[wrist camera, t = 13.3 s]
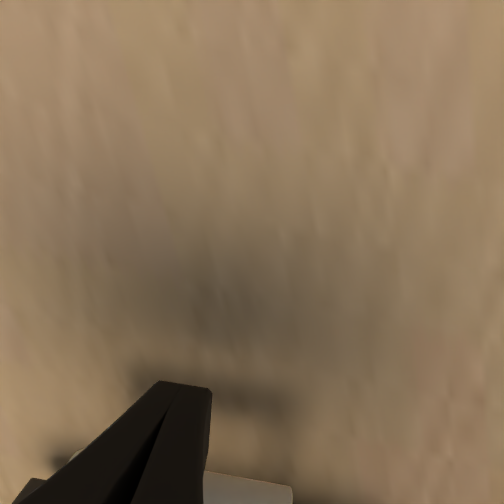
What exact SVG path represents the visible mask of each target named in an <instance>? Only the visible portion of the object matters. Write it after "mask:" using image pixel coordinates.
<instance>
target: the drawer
mask: <svg viewBox="0 0 504 504" xmlns="http://www.w3.org/2000/svg"><path fill="white" fill-rule="evenodd" d="M83 450H84V449H80V450H78V451H77V452H75V453H74V455H73V456H72V457H71V458H70V460H69V461H71V460H72V459H73V458H74V457H75V456H77V455H78V454H79V453H80V452H81V451H83ZM69 461H68V462H69ZM45 481H46V480H42V479H37V478H31V479H30V480H29V482H28V483H27V484H26V486H25V487H24V488H23V490H22V491H21V492H20V493H19V495H18V496H17V497H16V499H15V500H14V501H13V503H12V504H17V503H18V502H19V501H21V500H22V499H23V498H25V497H26V496H27V495H28V494H30V493H31V492H32V491H34V490H35V489H36V488H38V487H39V486H40V485H41V484H43V483H44V482H45ZM203 502H204V504H293V494H292V489H291V487H290V486H286V485H281V484H276V483H270V482H265V481H259V480H254V479H248V478H243V477H237V476H232V475H226V474H221V473H215V472H210V471H204V475H203Z"/></svg>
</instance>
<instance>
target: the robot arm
mask: <svg viewBox="0 0 504 504" xmlns="http://www.w3.org/2000/svg"><path fill="white" fill-rule="evenodd" d="M211 406H212V392H211V391H210V390H209V389H208V388H203V387H197V386H190V385H184V384H178V383H172V382H166V381H160V380H159V381H158V382H156V383H155V384H154V385H153V386H152V387H151V388H150V389H149V390H148V391H147V392H146V393H145V394H143V395H142V396H141V397H140V398H139V399H138V400H137V401H136V402H135V403H134V404H133V405H132V406H131V407H130V408H129V409H128V410H127V411H126V412H125V413H124V414H123V415H122V416H120V417H119V418H118V419H117V420H116V421H115V422H114V423H113V424H112V425H111V426H110V427H108V428H107V429H106V430H105V431H104V432H103V433H102V434H101V435H99V436H98V437H97V438H96V439H95V440H94V441H93V442H92V443H91V444H89V445H88V446H87V447H86V448H85V449H84V450H83V451H81V452H80V453H79V454H78V455H77V456H75V457H74V458H73V459H72V460H71V461H69V462H68V463H67V464H66V465H64V466H63V467H62V468H61V469H60V470H58V471H57V472H56V473H55V474H54V475H52V476H51V477H50V478H49V479H47V480H46V481H45V482H44V483H43V484H41V485H40V486H39V487H38V488H36V489H35V490H34V491H32V492H31V493H30V494H28V495H27V496H26V497H25V498H23V499H22V500H21V501H19V502H18V503H17V504H204V502H203V475H204V469H205V463H206V459H207V454H208V447H209V433H210V420H211Z"/></svg>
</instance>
